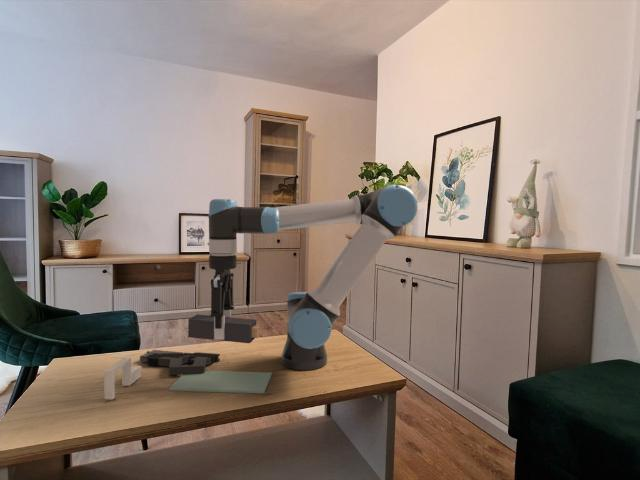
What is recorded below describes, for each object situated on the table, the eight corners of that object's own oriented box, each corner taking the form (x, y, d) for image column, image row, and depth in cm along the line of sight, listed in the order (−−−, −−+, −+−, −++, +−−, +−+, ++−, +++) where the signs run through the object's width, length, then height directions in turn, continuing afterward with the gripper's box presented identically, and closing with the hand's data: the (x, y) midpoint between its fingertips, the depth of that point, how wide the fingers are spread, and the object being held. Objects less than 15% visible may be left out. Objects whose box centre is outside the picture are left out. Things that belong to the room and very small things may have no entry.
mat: (271, 374, 109) (271, 372, 109) (264, 393, 97) (264, 391, 97) (186, 372, 110) (186, 370, 110) (168, 390, 98) (168, 388, 98)
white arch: (141, 376, 106) (141, 351, 106) (112, 399, 92) (111, 371, 92) (134, 375, 106) (134, 351, 106) (104, 399, 92) (104, 370, 92)
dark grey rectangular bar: (261, 338, 104) (261, 320, 104) (255, 344, 99) (256, 325, 98) (196, 331, 107) (197, 314, 106) (188, 337, 101) (188, 319, 101)
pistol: (197, 370, 104) (222, 353, 119) (120, 362, 109) (152, 348, 124) (197, 377, 104) (221, 360, 119) (120, 370, 109) (152, 354, 124)
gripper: (220, 251, 111) (220, 326, 112) (197, 257, 92) (197, 346, 94) (244, 251, 111) (243, 326, 112) (226, 257, 92) (226, 347, 93)
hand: (222, 335), depth 103 cm, fingers closed on dark grey rectangular bar, 5 cm apart
